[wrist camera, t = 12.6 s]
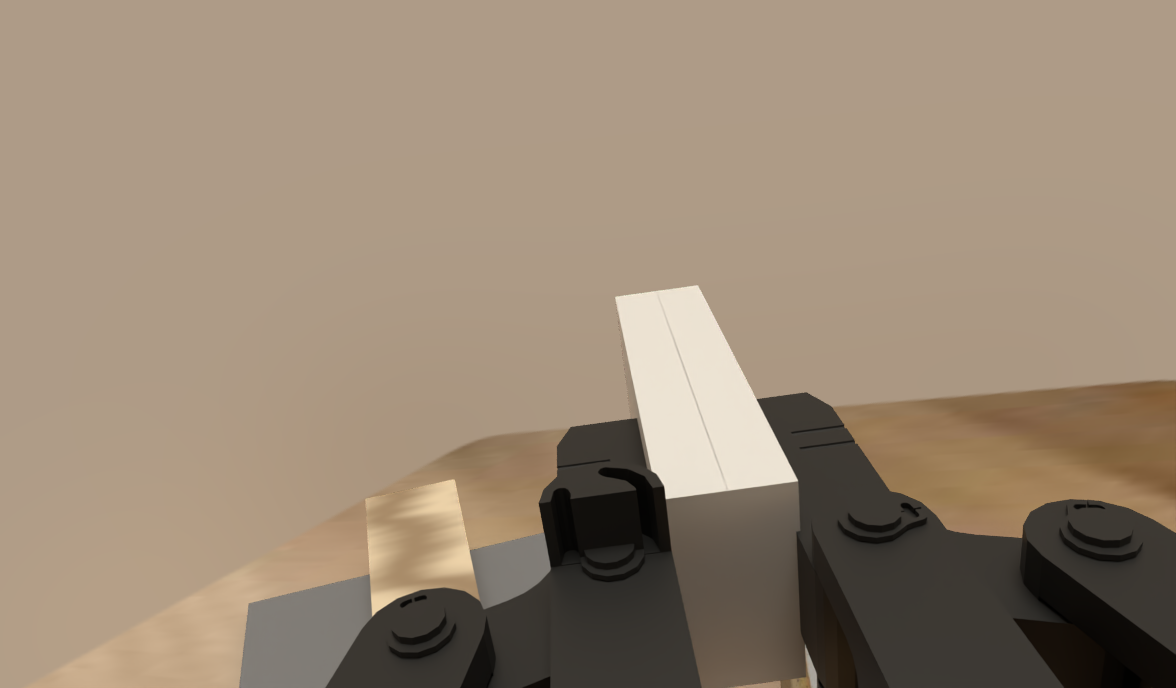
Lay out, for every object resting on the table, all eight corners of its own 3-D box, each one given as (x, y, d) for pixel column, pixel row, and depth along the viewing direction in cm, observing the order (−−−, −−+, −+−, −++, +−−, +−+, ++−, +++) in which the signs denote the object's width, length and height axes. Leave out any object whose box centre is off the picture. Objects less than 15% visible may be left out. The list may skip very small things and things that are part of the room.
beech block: (509, 749, 38) (466, 544, 49) (496, 676, 35) (454, 479, 47) (399, 781, 37) (382, 564, 48) (377, 709, 34) (365, 498, 46)
